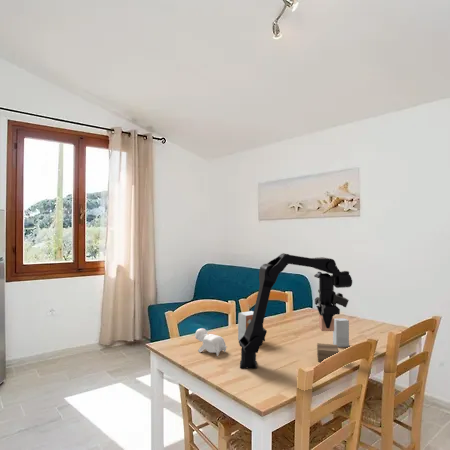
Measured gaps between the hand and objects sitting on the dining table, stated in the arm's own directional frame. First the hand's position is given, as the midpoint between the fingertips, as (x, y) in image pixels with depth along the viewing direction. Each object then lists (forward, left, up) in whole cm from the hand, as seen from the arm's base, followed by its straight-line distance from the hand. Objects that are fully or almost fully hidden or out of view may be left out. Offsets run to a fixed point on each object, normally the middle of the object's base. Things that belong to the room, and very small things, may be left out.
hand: (326, 326), depth 139 cm
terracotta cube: (0, 0, -1) cm, 1 cm away
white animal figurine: (+4, +49, -14) cm, 51 cm away
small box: (+19, +32, -14) cm, 39 cm away
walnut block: (-1, 0, -14) cm, 14 cm away
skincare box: (+16, -10, -13) cm, 23 cm away
